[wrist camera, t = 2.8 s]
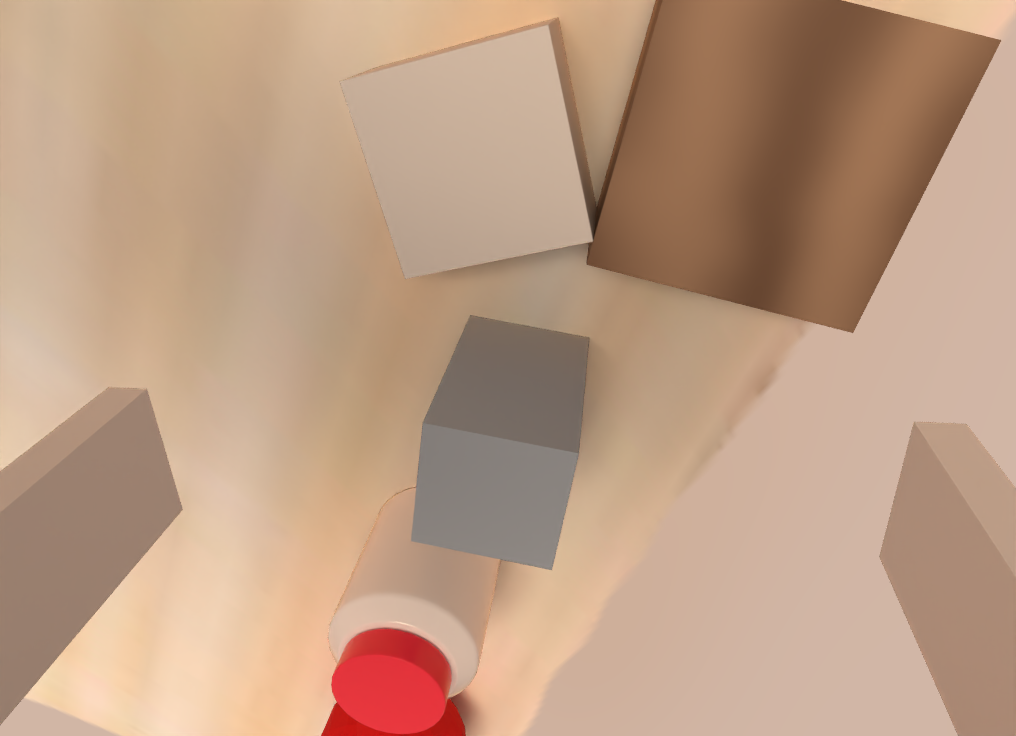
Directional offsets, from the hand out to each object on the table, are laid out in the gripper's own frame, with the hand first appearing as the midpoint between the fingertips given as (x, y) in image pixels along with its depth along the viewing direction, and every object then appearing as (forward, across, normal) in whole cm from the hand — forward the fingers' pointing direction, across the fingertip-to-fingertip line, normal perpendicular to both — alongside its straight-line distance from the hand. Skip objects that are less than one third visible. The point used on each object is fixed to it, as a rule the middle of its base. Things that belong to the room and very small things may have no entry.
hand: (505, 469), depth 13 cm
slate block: (+23, -3, -10) cm, 25 cm away
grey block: (+23, -4, +2) cm, 23 cm away
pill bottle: (+23, -8, -21) cm, 32 cm away
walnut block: (+23, +7, +2) cm, 24 cm away
